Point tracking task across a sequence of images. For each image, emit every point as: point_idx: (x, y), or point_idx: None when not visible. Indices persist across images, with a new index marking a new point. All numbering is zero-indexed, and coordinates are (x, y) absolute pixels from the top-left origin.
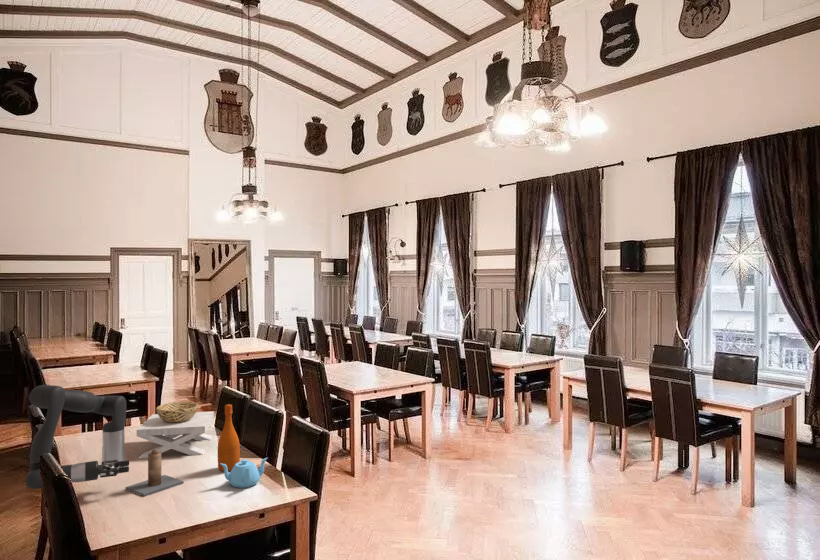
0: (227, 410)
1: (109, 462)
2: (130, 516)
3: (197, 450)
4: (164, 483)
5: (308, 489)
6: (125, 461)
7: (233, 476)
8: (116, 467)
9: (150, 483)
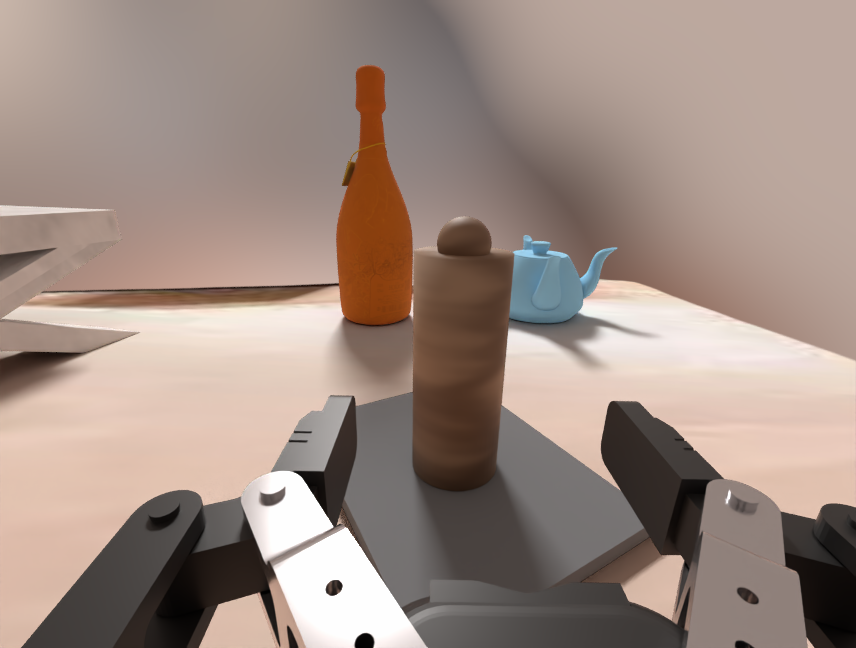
0: (381, 89)
1: (342, 625)
2: None
3: (90, 327)
4: None
5: (600, 279)
6: (346, 419)
7: (570, 289)
8: (711, 505)
9: (490, 464)
